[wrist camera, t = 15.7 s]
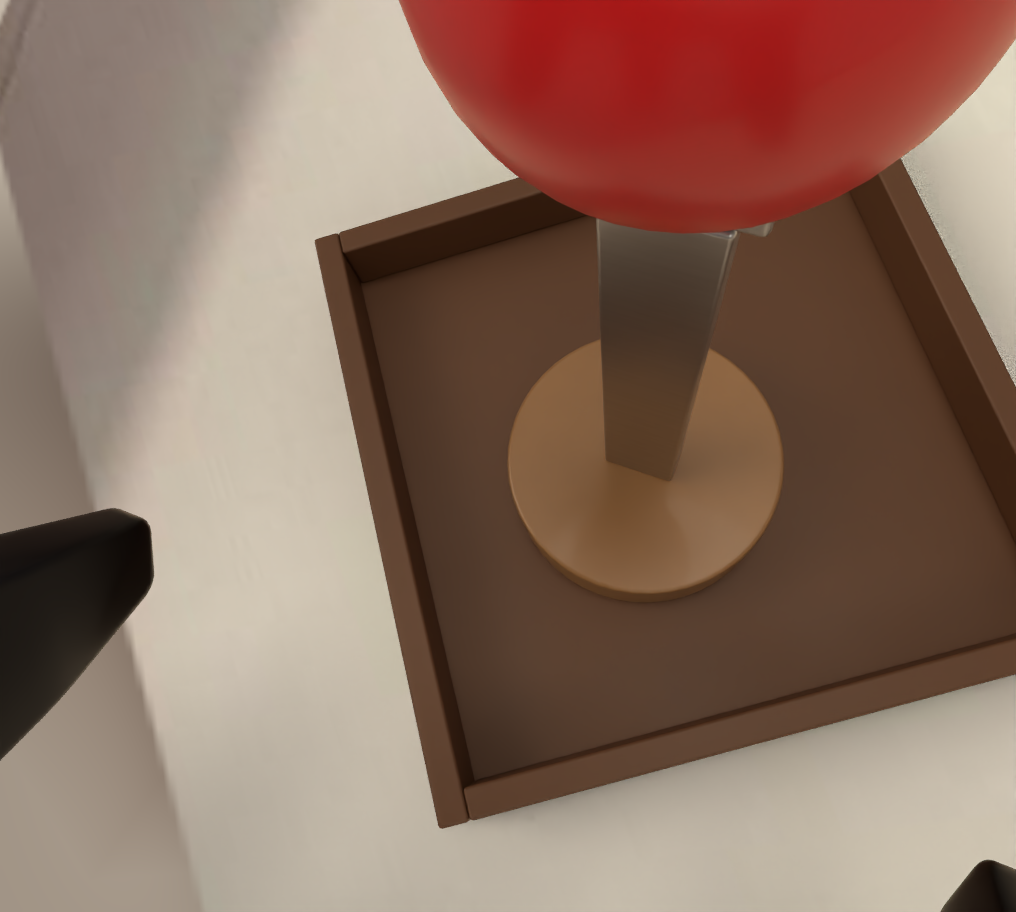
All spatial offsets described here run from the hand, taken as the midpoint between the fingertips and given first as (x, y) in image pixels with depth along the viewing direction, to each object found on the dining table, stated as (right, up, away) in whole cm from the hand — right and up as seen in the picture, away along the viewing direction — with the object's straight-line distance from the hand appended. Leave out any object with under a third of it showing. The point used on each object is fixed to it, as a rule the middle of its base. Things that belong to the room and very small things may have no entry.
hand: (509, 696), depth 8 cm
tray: (+4, +3, +10) cm, 11 cm away
